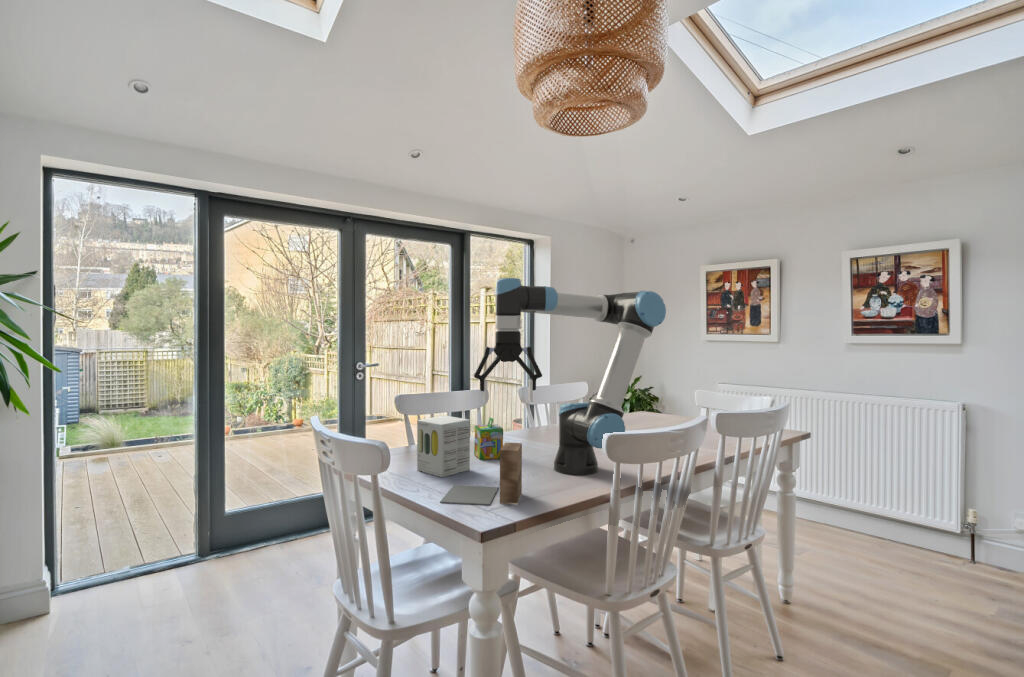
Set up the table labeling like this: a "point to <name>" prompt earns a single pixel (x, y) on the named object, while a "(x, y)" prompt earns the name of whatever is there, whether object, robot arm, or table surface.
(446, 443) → the supplement box
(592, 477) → the table surface
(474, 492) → the mat
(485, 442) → the chalk box
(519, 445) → the walnut block
